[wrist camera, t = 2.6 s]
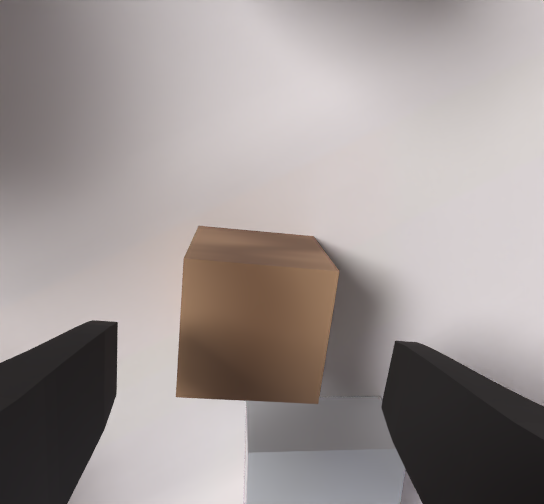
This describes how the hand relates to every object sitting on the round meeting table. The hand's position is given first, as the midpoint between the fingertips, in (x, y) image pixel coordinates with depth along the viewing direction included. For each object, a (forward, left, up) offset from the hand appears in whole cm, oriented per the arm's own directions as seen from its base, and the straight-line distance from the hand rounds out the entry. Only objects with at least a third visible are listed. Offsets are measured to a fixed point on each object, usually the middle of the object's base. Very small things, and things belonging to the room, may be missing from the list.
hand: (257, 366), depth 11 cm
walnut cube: (0, 0, -6) cm, 6 cm away
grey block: (-4, +8, -7) cm, 11 cm away
